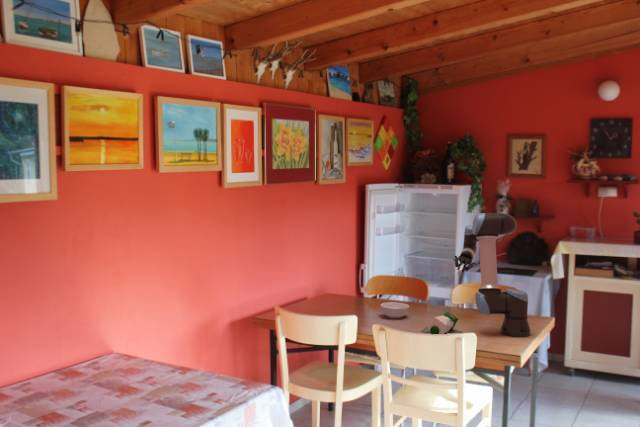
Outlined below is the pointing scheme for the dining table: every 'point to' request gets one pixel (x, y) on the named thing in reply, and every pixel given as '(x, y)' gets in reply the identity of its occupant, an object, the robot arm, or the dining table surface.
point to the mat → (445, 333)
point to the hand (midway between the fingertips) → (459, 272)
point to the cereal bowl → (394, 309)
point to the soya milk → (442, 323)
